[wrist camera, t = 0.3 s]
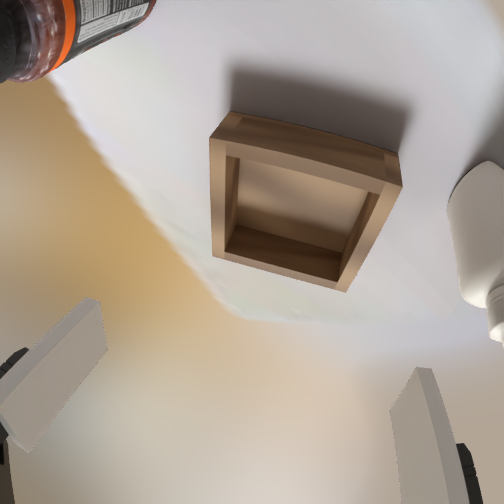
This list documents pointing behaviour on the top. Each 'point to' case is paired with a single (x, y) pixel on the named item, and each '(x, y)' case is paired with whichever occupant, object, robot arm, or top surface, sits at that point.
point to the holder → (297, 198)
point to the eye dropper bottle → (480, 241)
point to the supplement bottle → (59, 31)
